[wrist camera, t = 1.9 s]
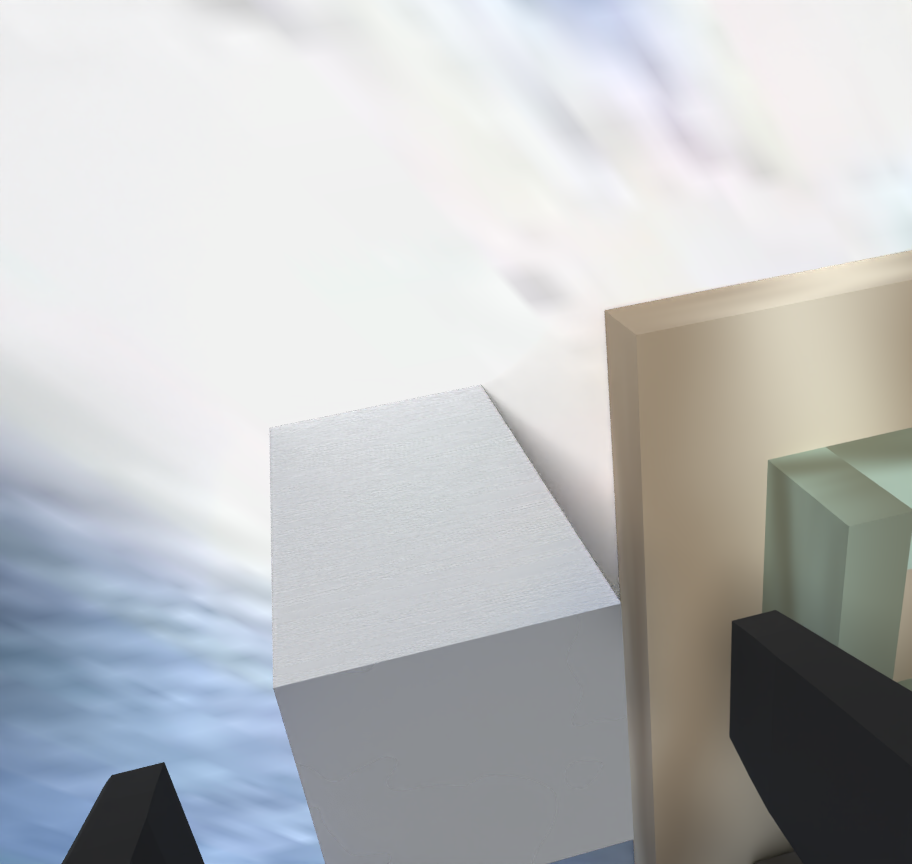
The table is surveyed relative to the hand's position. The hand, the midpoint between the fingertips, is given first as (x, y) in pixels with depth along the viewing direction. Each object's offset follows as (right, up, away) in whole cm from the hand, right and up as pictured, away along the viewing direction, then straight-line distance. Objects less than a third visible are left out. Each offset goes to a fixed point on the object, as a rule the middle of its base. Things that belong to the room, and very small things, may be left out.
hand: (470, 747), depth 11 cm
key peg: (-1, +3, +6) cm, 7 cm away
